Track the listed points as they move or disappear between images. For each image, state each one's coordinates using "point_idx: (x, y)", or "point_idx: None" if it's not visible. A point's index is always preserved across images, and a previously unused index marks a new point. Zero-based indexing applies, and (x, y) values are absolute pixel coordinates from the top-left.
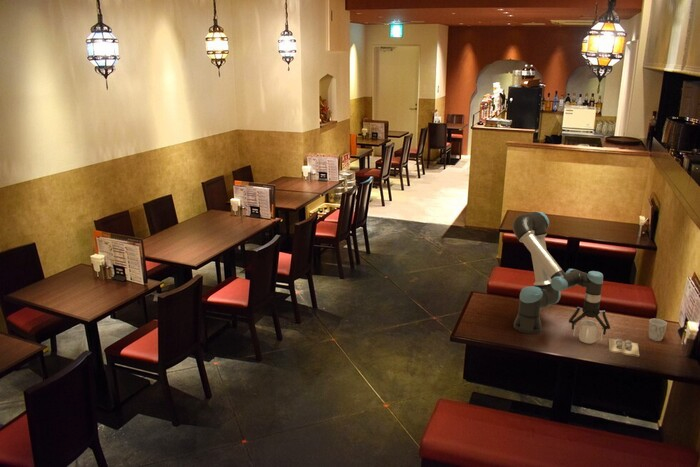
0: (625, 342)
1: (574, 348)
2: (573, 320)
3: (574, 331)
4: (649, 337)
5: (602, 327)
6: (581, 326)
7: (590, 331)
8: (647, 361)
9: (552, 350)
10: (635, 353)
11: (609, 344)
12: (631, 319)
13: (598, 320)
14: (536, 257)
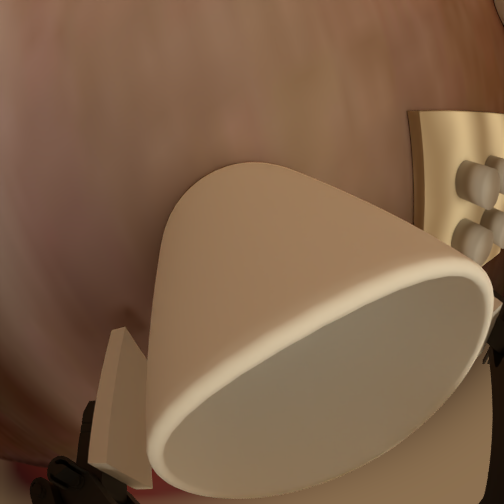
0: (483, 131)
1: None
2: (76, 502)
3: (144, 411)
4: (502, 17)
5: (494, 314)
6: (210, 446)
7: (338, 401)
8: (500, 262)
9: None
10: (495, 246)
11: (425, 230)
12: None
13: (497, 472)
14: None
